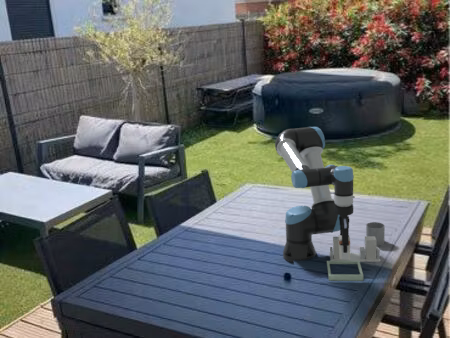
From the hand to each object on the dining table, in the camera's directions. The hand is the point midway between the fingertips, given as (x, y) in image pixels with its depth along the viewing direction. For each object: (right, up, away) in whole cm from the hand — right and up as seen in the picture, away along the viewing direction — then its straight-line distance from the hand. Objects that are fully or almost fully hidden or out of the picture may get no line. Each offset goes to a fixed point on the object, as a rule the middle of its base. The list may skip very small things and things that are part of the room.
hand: (344, 256), depth 209 cm
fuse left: (+1, -3, +14) cm, 15 cm away
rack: (+8, -4, +14) cm, 16 cm away
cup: (+22, 0, +28) cm, 36 cm away
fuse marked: (0, 0, 0) cm, 0 cm away
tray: (+1, -8, +2) cm, 8 cm away
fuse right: (+15, -3, +12) cm, 19 cm away
